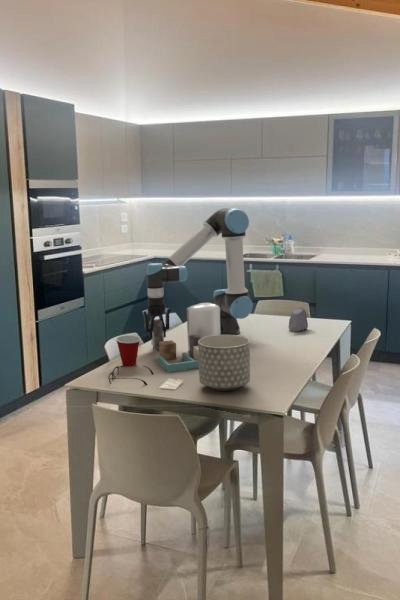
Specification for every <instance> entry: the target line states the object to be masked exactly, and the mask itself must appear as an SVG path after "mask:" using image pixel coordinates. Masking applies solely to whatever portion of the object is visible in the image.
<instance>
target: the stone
mask: <svg viewBox="0 0 400 600" xmlns="http://www.w3.org/2000/svg"><path fill="white" fill-rule="evenodd" d="M307 318H308V317H307V311H306V310H305V309H304V308H296V309H293V311H292V312H291V314H290V318H289V321H288V329H289V330H290V331H292V330H294V331H293V332H302V331H305V330H307V329H308V327H309V324H308V319H307ZM304 329H305V330H304ZM301 330H302V331H301Z"/></svg>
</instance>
